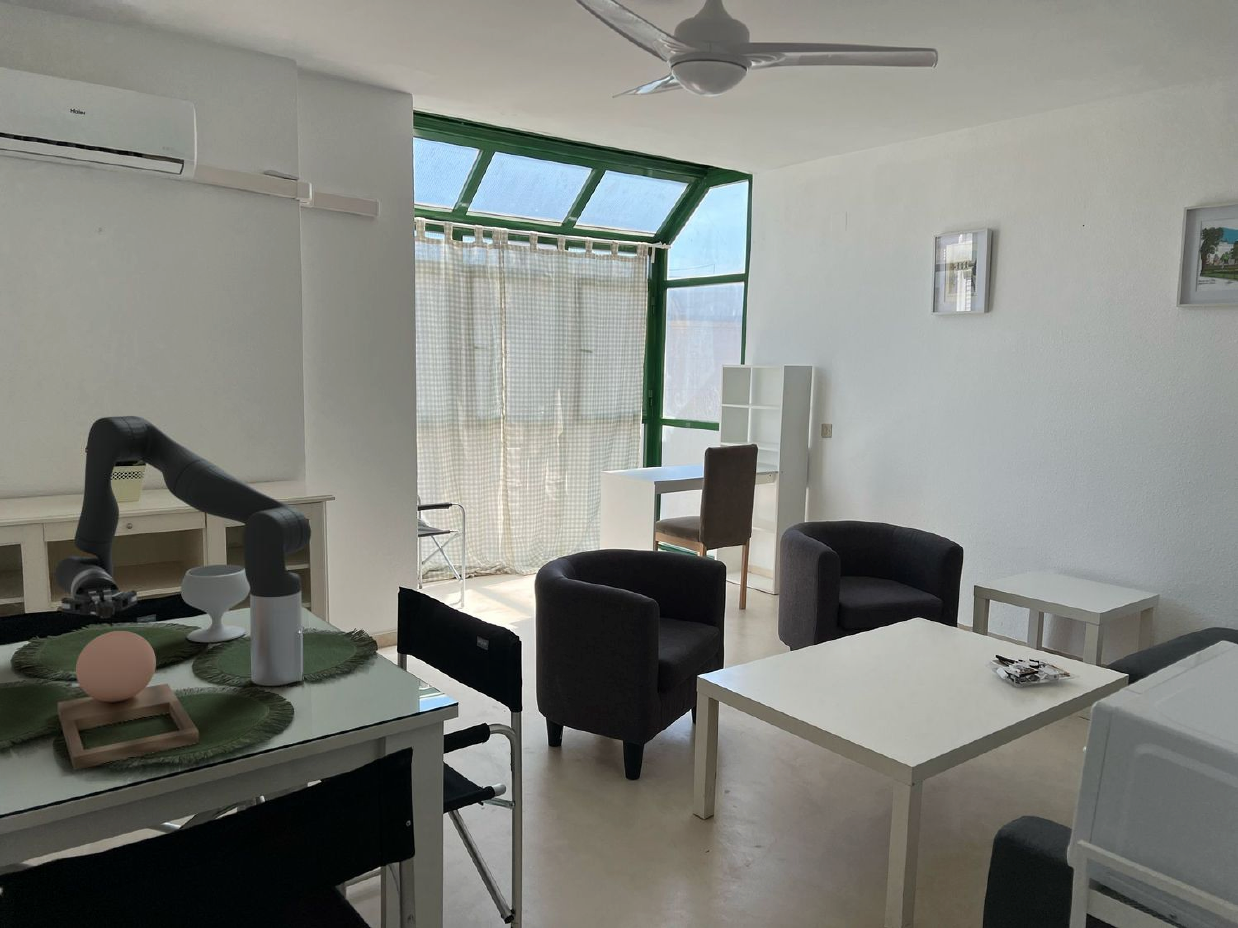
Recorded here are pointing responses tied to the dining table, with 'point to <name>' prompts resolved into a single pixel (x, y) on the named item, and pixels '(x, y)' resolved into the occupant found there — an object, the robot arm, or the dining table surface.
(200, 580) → the chalice
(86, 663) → the ball
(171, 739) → the wooden rectangular frame
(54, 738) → the dining table surface
